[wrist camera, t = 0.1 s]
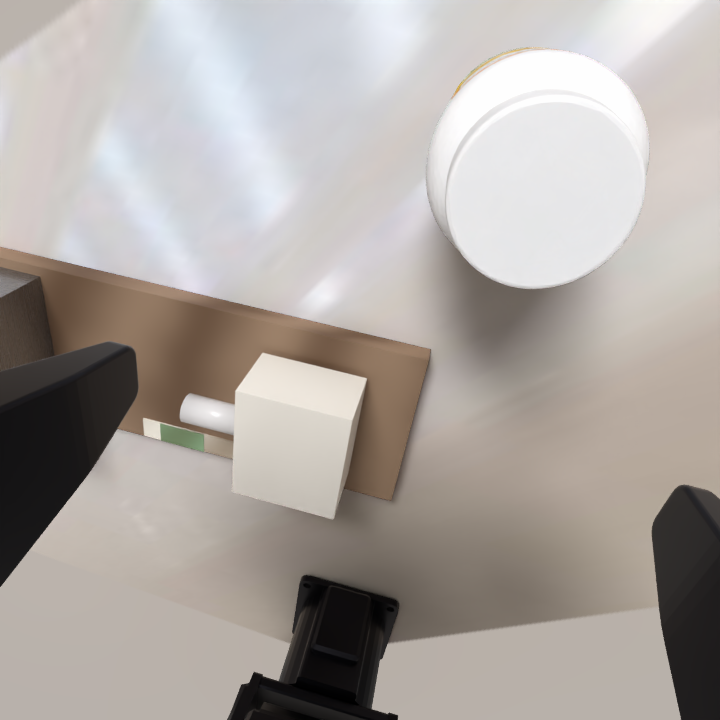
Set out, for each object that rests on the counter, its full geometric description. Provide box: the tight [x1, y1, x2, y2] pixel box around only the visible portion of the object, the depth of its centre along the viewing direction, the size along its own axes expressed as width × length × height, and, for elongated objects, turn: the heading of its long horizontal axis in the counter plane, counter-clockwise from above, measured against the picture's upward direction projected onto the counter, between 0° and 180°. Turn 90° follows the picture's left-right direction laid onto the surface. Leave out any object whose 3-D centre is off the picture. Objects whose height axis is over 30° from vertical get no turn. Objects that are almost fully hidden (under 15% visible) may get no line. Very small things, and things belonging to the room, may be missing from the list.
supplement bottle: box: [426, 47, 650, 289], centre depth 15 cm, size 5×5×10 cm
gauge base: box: [0, 247, 431, 501], centre depth 27 cm, size 22×9×1 cm, turn 81°
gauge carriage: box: [180, 353, 367, 520], centre depth 25 cm, size 8×8×3 cm
